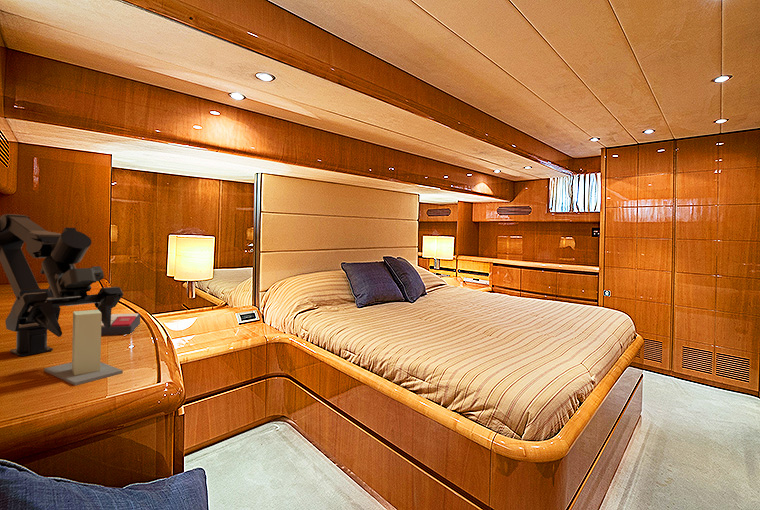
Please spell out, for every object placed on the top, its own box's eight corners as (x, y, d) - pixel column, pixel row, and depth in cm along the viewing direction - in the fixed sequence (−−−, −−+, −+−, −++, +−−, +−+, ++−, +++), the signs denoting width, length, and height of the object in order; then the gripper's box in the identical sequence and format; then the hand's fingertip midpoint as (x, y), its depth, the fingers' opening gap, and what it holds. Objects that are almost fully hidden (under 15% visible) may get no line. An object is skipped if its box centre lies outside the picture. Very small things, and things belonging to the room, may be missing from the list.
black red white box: (87, 325, 111) (101, 312, 124) (87, 339, 111) (101, 325, 125) (131, 323, 115) (140, 311, 129) (131, 337, 115) (140, 324, 129)
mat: (44, 371, 83) (44, 368, 83) (90, 360, 91) (90, 358, 91) (75, 385, 77) (75, 382, 77) (122, 372, 85) (122, 370, 84)
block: (71, 369, 83) (73, 311, 83) (96, 365, 87) (98, 309, 86) (74, 375, 80) (75, 315, 80) (100, 370, 83) (101, 313, 83)
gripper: (21, 254, 77) (45, 316, 72) (120, 254, 93) (144, 304, 89) (5, 288, 81) (26, 349, 76) (102, 282, 97) (125, 331, 93)
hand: (85, 331), depth 83 cm, fingers open, 9 cm apart
